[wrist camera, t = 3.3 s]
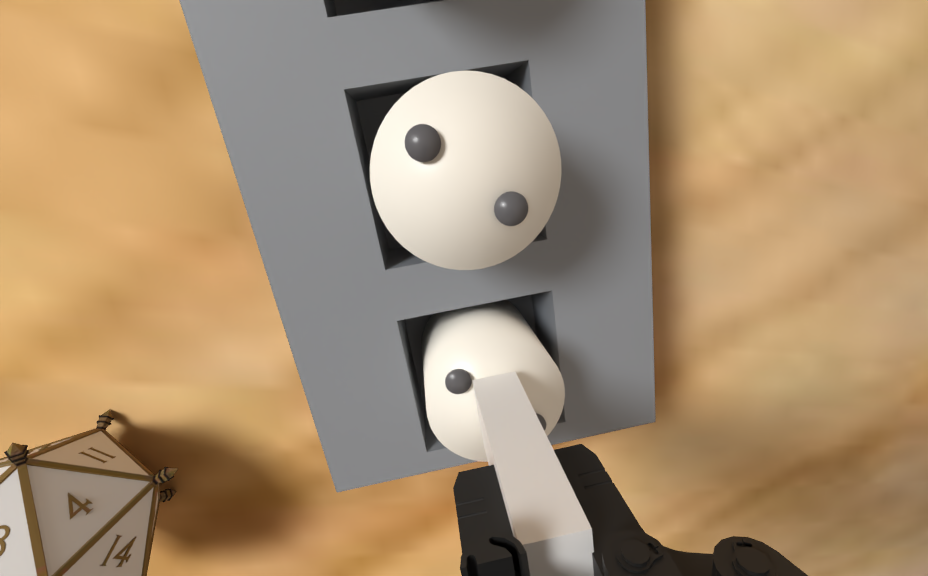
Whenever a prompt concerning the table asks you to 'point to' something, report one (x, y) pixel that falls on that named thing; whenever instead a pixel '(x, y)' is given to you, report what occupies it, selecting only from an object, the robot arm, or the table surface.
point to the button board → (376, 250)
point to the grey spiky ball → (78, 507)
